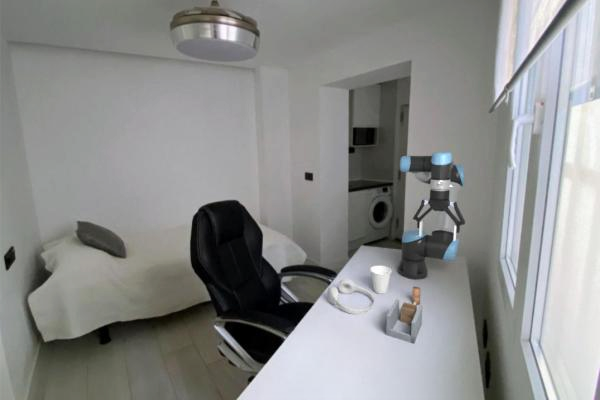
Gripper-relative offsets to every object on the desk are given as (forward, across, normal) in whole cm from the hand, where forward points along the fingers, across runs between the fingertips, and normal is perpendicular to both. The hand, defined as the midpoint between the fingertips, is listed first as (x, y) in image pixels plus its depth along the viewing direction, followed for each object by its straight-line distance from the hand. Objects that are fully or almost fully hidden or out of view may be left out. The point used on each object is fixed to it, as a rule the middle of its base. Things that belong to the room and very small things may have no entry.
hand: (437, 237), depth 130 cm
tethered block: (+29, -6, -16) cm, 33 cm away
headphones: (+29, -32, -21) cm, 48 cm away
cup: (+29, -23, -5) cm, 37 cm away
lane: (+29, -6, -30) cm, 42 cm away
